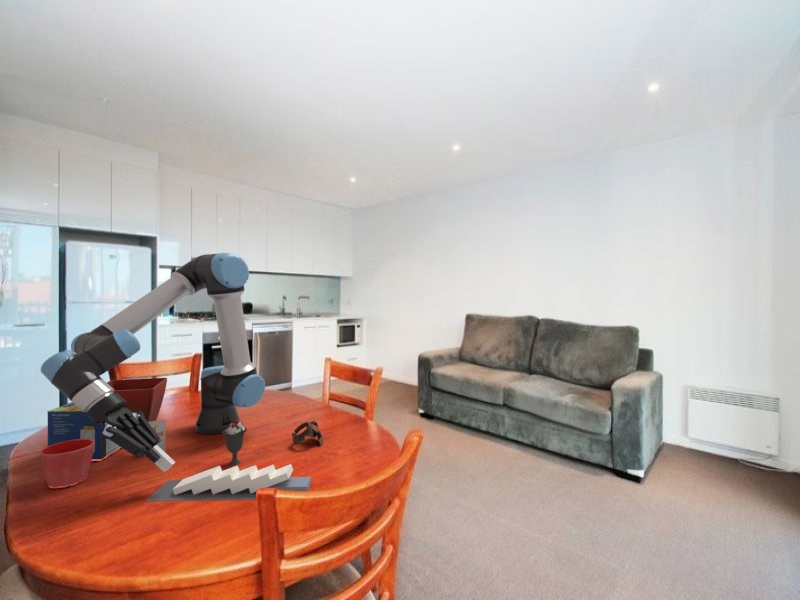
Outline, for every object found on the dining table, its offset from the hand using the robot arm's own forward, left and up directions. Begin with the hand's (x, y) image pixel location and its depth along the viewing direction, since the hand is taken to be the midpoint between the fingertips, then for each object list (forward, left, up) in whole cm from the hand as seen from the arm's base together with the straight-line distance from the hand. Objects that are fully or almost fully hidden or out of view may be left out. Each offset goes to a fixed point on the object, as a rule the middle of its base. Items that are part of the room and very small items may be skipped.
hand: (169, 467), depth 94 cm
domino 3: (0, +11, -5) cm, 13 cm away
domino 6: (0, +25, -5) cm, 26 cm away
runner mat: (0, +13, -6) cm, 14 cm away
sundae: (-15, +10, -7) cm, 19 cm away
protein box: (-23, -38, -7) cm, 45 cm away
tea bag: (-24, -19, -7) cm, 31 cm away
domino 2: (0, +7, -5) cm, 8 cm away
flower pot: (-6, -30, -7) cm, 31 cm away
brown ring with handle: (-31, +29, -7) cm, 43 cm away
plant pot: (-45, -39, -7) cm, 60 cm away
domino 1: (0, +2, -5) cm, 6 cm away
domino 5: (0, +21, -5) cm, 21 cm away
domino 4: (0, +16, -5) cm, 17 cm away
